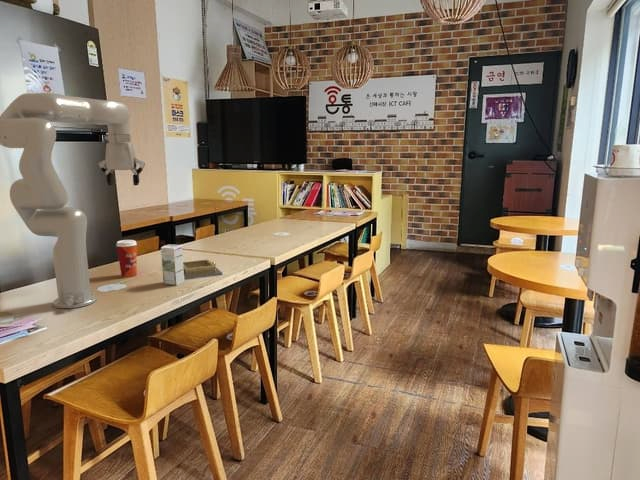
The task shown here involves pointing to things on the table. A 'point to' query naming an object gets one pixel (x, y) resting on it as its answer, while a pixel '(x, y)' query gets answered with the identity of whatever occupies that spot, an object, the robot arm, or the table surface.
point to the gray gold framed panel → (200, 269)
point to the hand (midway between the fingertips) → (123, 185)
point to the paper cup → (127, 257)
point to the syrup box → (172, 264)
